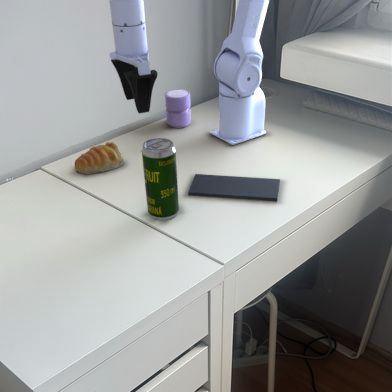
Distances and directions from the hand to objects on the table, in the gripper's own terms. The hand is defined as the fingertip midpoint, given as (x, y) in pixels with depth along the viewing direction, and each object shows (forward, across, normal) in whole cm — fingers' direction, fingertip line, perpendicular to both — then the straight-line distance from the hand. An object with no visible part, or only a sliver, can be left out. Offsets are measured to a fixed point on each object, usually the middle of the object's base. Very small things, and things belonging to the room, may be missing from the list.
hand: (137, 105), depth 96 cm
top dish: (+7, -12, +12) cm, 19 cm away
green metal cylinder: (+10, +23, -4) cm, 26 cm away
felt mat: (+10, +20, +11) cm, 25 cm away
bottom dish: (+10, -12, +12) cm, 20 cm away
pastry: (+10, +1, -9) cm, 14 cm away
